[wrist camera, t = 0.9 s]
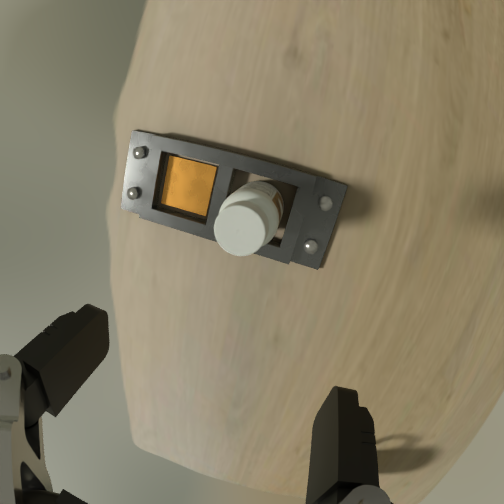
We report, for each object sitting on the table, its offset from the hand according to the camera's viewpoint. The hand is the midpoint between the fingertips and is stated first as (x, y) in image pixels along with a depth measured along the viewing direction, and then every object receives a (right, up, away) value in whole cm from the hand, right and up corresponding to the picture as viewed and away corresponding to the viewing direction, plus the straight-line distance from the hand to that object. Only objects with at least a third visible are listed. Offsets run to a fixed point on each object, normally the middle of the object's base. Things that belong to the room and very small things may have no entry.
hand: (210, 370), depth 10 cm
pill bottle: (+2, +8, +17) cm, 19 cm away
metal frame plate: (-1, +9, +18) cm, 20 cm away
